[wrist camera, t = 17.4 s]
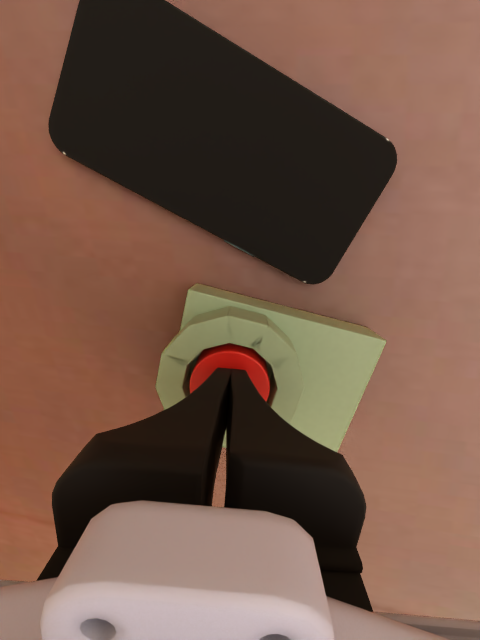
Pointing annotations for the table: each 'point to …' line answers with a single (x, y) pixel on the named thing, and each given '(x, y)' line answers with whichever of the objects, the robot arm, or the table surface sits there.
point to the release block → (278, 358)
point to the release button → (232, 365)
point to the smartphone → (216, 135)
